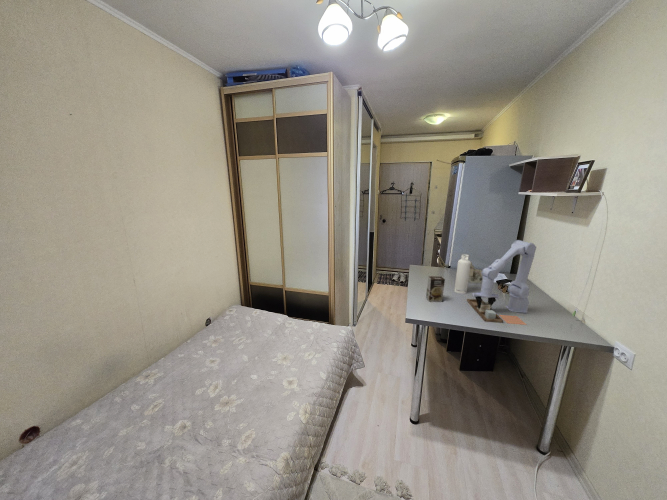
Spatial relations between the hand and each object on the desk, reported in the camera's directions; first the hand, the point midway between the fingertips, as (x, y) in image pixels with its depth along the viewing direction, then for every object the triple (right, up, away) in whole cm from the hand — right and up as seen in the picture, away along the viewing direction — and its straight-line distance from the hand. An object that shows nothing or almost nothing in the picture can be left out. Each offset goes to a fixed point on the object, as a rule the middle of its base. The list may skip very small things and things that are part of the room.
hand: (483, 308), depth 153 cm
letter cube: (0, -2, 0) cm, 2 cm away
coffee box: (-24, +2, +17) cm, 29 cm away
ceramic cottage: (+24, +10, +54) cm, 60 cm away
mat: (+11, -5, -10) cm, 15 cm away
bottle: (+1, +5, +31) cm, 31 cm away
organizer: (0, -2, +1) cm, 2 cm away
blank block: (-1, -4, -8) cm, 9 cm away
